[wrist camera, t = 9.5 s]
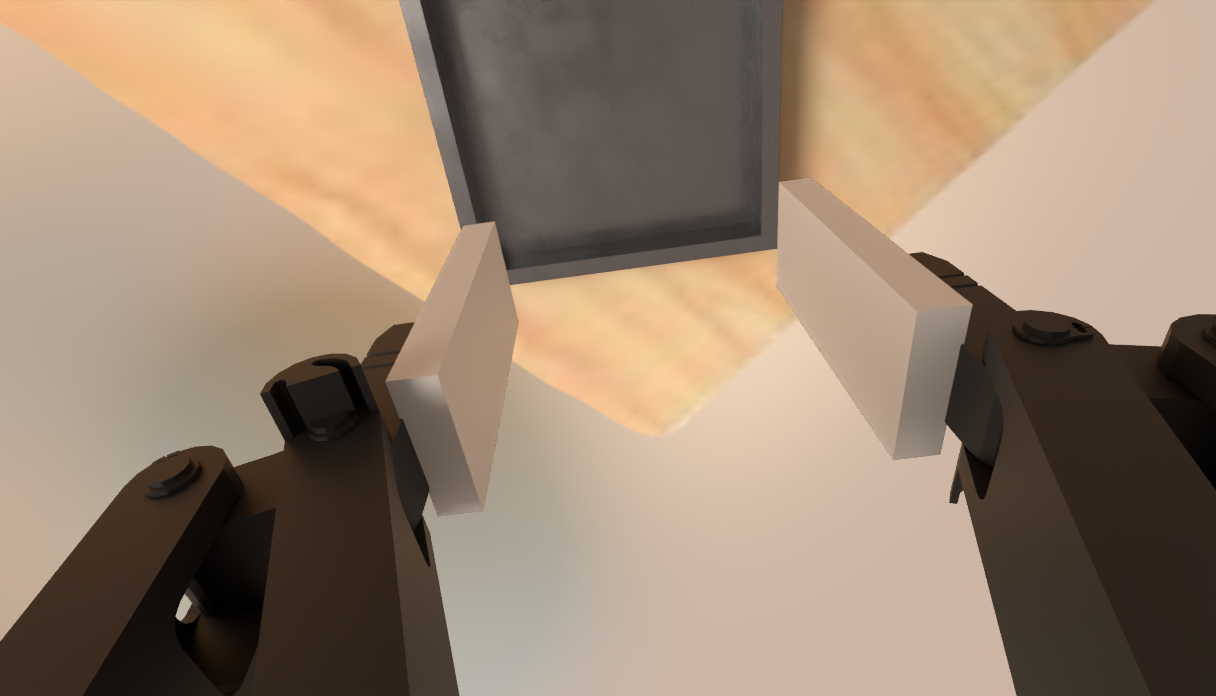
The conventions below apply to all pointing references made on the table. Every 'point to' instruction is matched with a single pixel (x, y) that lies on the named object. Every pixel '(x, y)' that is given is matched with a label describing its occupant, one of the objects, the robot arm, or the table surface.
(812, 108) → the table surface
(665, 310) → the table surface
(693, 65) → the grey square tray
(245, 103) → the table surface
